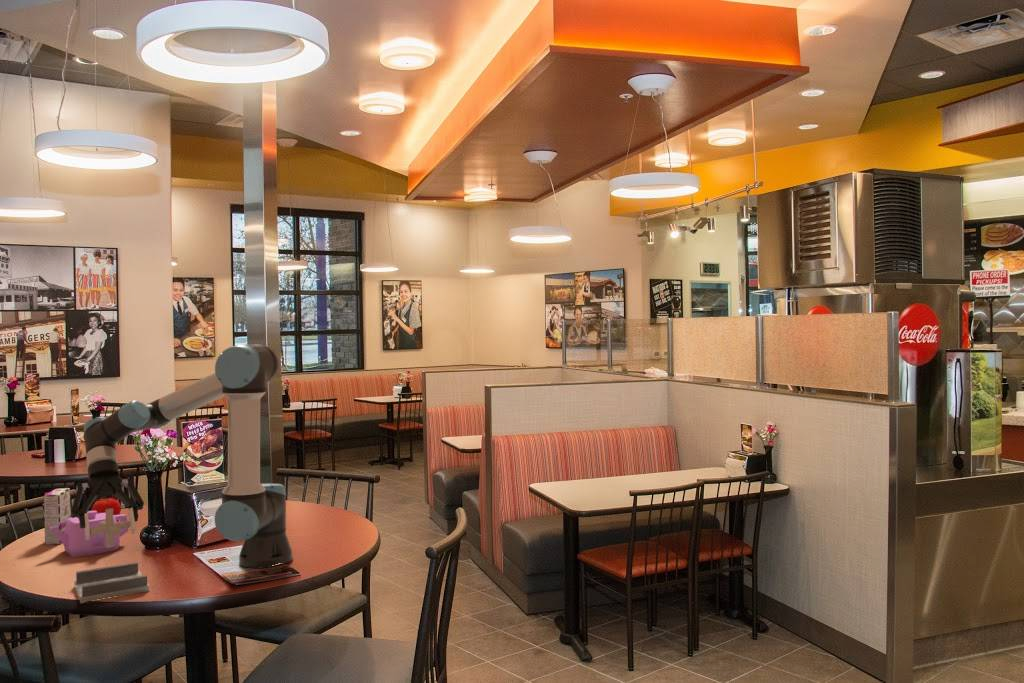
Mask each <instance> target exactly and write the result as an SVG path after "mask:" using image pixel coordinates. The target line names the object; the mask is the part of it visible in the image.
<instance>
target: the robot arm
mask: <svg viewBox="0 0 1024 683" xmlns="http://www.w3.org/2000/svg"><path fill="white" fill-rule="evenodd" d="M279 367H280V361H279V357H278V355H277V353H276V351H274V350H273V349H272V348H271V347H269V346H267V345H264V344H243V343H241V344H236V345H233V346H230V347H228V348H226V349H223V351H222V352H221V353H220V354H219V355H218V357H217V359H216V361H215V364H214V373H212V374H209V375H208V376H205V377H203V378H200V379H199V380H196V381H194V382H192V383H191V384H188V385H186V386H184V387H181V388H180V389H177V390H175V391H172V392H171V393H168V394H166V395H163V396H162V397H160V398H158V399H155V400H153V401H151V402H148V403H143V402H142V401H139V400H135V399H133V400H130V401H129V402H128V403H126V404H123V405H122V406H120V407H119V408H118V409H117V410H116V411H114V412H113V413H111V414H110V415H109V416H107V417H104V416H97V417H95V418H91V419H90V418H89V420H87V421H86V422H85V424H84V425H83V436H82V437H83V440H84V447H85V457H86V467H87V476H88V477H87V478H88V481H87V482H81V481H78V482H76V495H75V498H74V500H73V505H72V507H71V509H70V512H71V518H75V517H77V518H79V523H80V528H85V536H86V540H89V538H90V529H89V520H88V513H87V512H88V511H90V509H91V508H92V506H93V505H94V504H93V503H95V502H96V501H97V498H98V497H104V496H114V497H115V498H117V500H118V501H119V502H121V503H122V504H123V505H124V506H125V507H126V508H127V509H128V517H129V518H128V519H129V520H128V521H129V522H130V527H129V528H130V534H131V535H135V534H136V529H137V528H136V523H137V522H138V519H139V511H141V510H143V508H144V503H145V502H144V500H143V499H142V496H141V495H140V493H139V492H138V490H137V488H136V487H135V485H134V484H135V483H134V479H133V477H132V476H128V478H121V476H120V472H119V466H118V465H119V464H118V456H117V449H116V444H117V443H119V442H121V441H122V440H124V439H125V438H126V437H128V436H129V435H131V434H133V433H137V432H141V431H146V430H151V429H159V428H161V427H164V426H167V425H168V424H169V423H170V422H171V421H173V420H175V419H177V418H180V417H182V416H183V415H185V414H188V413H190V412H194V411H195V410H197V409H200V408H202V407H204V406H206V405H208V404H211V403H212V402H214V401H217V400H220V399H221V398H223V397H225V398H226V399H227V485H226V486H225V487H224V488H223V489H222V490H221V504H220V505H219V507H218V508H217V509H216V510H215V513H214V525H215V528H216V530H217V531H218V533H219V534H221V536H222V537H223V538H225V539H227V540H228V541H231V542H242V541H243V543H242V546H241V548H240V551H239V555H238V559H239V561H238V562H239V563H238V564H239V565H240V566H241V567H244V568H248V567H250V568H251V569H260V568H259V567H266V568H270V567H269V566H272V565H275V564H278V563H285V564H287V563H290V562H291V561H292V560H293V549H292V546H291V543H290V541H289V538H288V535H287V513H286V512H287V509H286V508H287V504H286V502H287V501H286V500H287V499H286V498H287V494H286V488H285V486H284V485H283V484H281V483H261V398H263V396H264V395H265V394H266V393H267V383H268V382H270V381H271V380H273V379H274V378H275V377H276V375H277V373H278V371H279ZM122 485H123V486H124V487H125V488H127V489H126V490H127V492H128V493H129V495H130V496H131V497H129V495H128V494H127V493H126V492H125V491H124V490H122V487H121V486H122ZM86 489H89V490H90V491H91V492H90V493H89V496H88V498H87V499H86V500H85V502H84V504H83V505H82V507H81V508H80V509H79V507H80V504H81V500H82V498H83V493H84V492H85V491H86ZM95 500H96V501H95Z"/></svg>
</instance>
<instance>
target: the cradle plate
mask: <svg viewBox="0 0 1024 683" xmlns="http://www.w3.org/2000/svg"><path fill="white" fill-rule="evenodd" d="M75 576H76V577H75V580H74V581H73V587H75V588H74V591H75V590H76V591H75V593H76V592H77V593H76V595H78V596H77V598H78V597H79V598H78V600H79V599H80V601H79V603H80V604H86V603H88V602H87V601H92V600H97V599H103V598H108V597H114V596H119V597H122V596H121V595H125V596H129V594H130V595H134V594H135V595H136V594H140V593H141V594H142V593H146V592H150V583H148V575H147V574H142V572H141V571H140V570H139V563H138V561H135V562H130V563H129V562H128V563H122V564H116V565H110V566H104V567H98V568H97V567H96V568H91V569H84V570H78V571H75ZM114 598H115V597H114ZM108 599H109V598H108ZM103 600H104V599H103ZM97 601H98V600H97ZM85 602H86V603H85ZM92 602H93V601H92Z"/></svg>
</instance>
